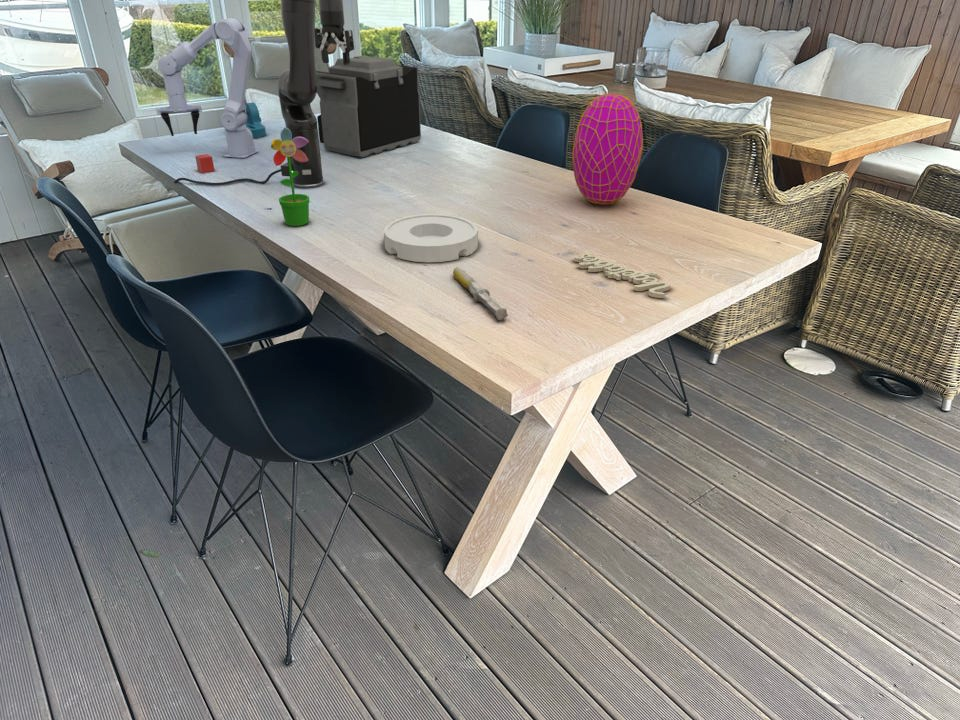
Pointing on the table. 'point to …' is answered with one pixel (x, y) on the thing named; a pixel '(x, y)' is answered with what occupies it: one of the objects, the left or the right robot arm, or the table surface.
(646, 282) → the decorative sign
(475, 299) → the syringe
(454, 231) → the ashtray
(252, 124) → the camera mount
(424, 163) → the table surface
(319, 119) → the cooler box
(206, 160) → the block
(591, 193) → the decorative egg
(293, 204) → the potted flower
